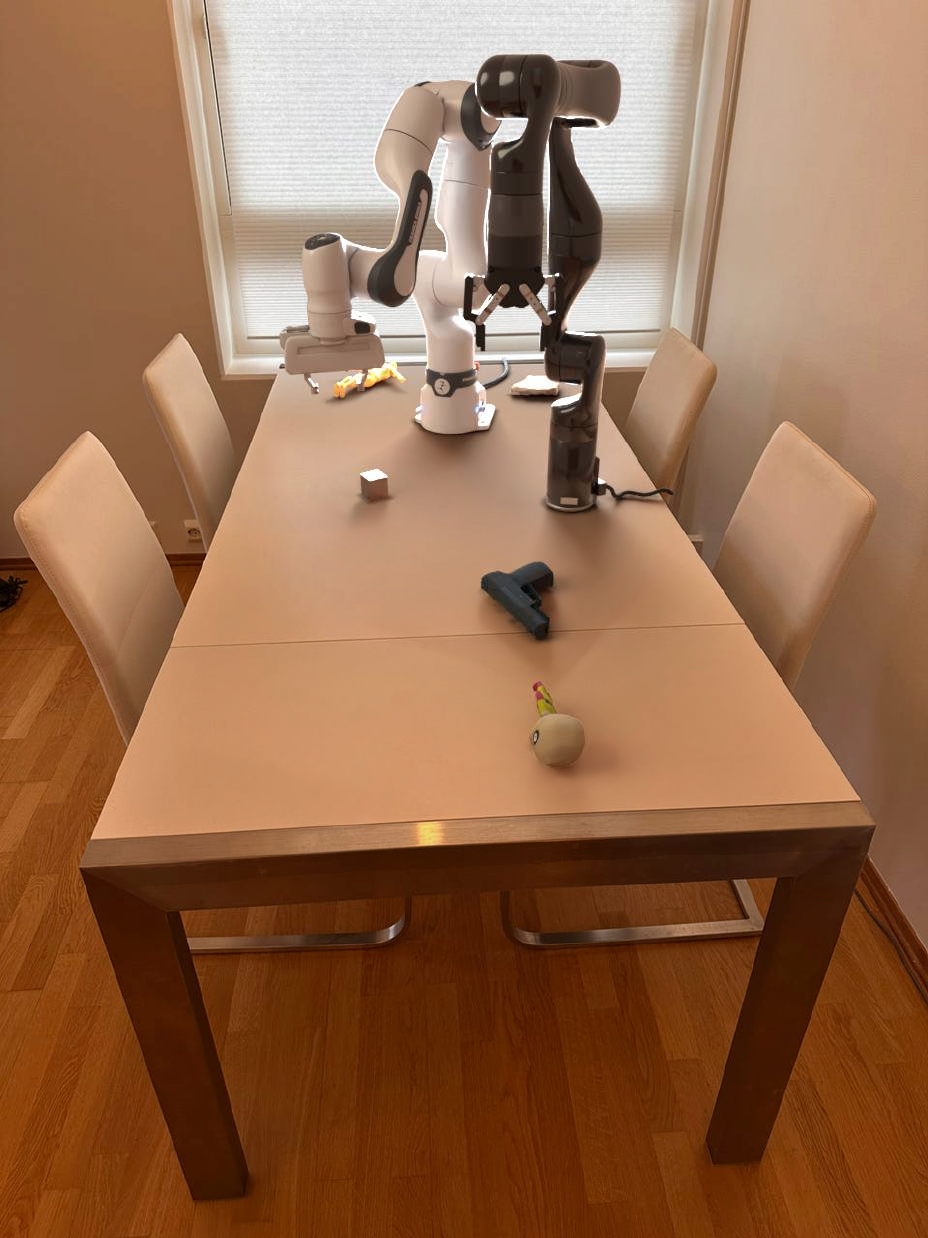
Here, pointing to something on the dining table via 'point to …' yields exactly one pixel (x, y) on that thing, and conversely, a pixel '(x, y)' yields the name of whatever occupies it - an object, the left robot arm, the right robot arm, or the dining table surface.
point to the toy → (555, 733)
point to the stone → (535, 386)
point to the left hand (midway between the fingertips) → (338, 391)
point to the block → (374, 485)
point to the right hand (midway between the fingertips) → (512, 350)
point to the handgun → (522, 594)
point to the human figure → (368, 378)
